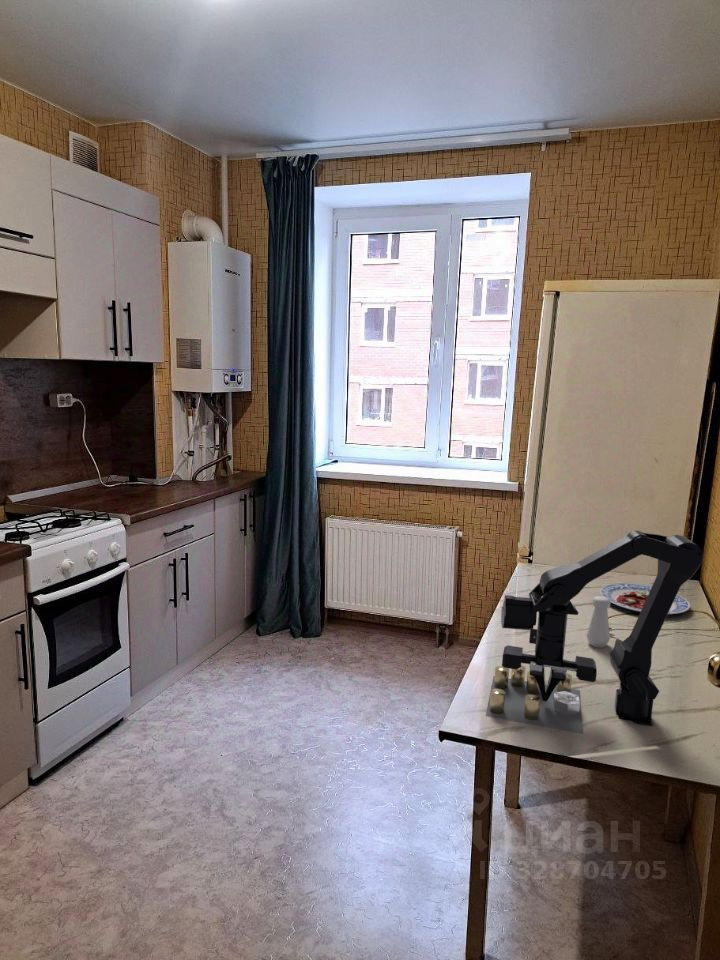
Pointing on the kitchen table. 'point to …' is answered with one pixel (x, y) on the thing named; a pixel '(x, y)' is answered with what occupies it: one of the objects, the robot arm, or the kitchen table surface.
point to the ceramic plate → (638, 597)
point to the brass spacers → (518, 681)
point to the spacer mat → (546, 713)
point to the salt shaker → (599, 623)
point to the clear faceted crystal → (566, 703)
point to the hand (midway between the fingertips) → (544, 700)
